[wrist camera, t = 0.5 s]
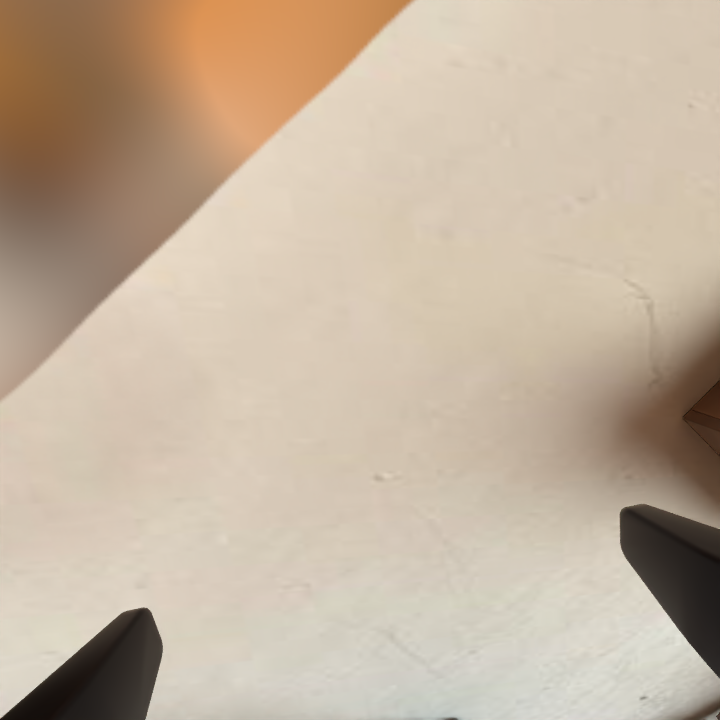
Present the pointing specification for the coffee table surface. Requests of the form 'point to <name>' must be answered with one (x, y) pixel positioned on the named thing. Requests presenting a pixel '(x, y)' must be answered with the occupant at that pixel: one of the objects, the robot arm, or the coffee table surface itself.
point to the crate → (707, 417)
